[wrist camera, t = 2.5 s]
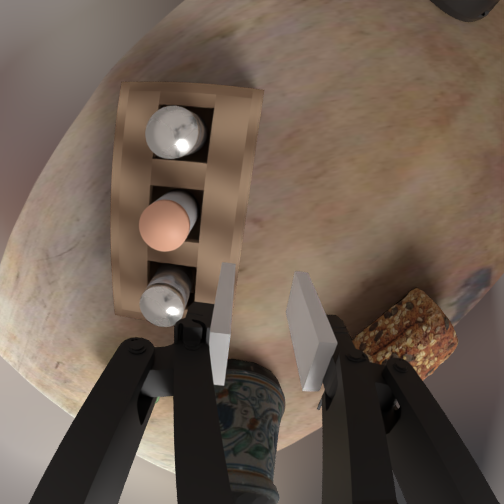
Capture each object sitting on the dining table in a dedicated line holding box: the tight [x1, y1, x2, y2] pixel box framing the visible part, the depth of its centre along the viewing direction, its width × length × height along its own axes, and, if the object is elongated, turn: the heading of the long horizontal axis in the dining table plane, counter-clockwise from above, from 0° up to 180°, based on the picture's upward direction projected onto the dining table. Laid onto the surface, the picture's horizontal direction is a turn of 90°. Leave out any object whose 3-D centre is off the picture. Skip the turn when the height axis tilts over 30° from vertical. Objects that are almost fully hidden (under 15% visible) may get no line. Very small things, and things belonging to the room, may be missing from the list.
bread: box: [352, 288, 458, 381], centre depth 40 cm, size 19×11×10 cm, turn 134°
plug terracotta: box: [139, 189, 199, 252], centre depth 28 cm, size 4×4×6 cm
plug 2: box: [140, 263, 194, 327], centre depth 31 cm, size 4×4×6 cm
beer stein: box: [214, 359, 285, 504], centre depth 36 cm, size 16×19×25 cm
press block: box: [110, 82, 264, 323], centre depth 33 cm, size 26×14×7 cm, turn 172°
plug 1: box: [145, 106, 208, 159], centre depth 26 cm, size 4×4×6 cm
